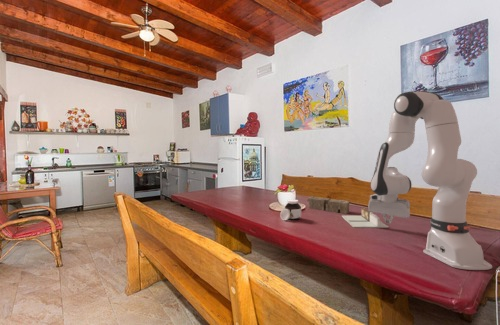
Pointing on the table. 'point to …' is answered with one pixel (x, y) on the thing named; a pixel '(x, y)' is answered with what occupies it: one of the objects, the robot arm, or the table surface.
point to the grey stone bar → (328, 204)
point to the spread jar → (291, 210)
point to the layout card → (362, 222)
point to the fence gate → (374, 219)
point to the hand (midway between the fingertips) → (388, 222)
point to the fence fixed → (366, 213)
